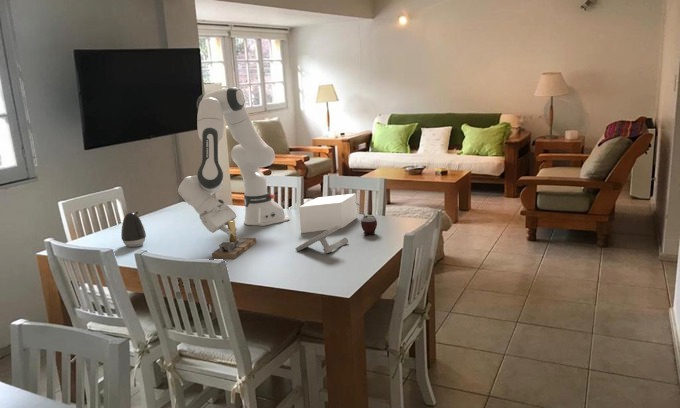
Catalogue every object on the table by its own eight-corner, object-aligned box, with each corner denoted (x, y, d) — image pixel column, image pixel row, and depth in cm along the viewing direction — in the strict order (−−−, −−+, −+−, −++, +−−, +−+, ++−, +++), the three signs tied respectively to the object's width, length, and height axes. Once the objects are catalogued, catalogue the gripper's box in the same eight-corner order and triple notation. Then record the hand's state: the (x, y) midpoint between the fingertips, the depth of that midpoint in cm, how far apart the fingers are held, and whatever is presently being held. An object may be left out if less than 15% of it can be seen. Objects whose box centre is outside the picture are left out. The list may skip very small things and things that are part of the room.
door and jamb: (234, 242, 250) (233, 231, 249) (255, 242, 247) (255, 231, 246) (212, 258, 229) (210, 246, 228) (235, 258, 226) (233, 246, 225)
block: (369, 220, 275) (368, 195, 272) (313, 236, 253) (311, 209, 250) (345, 215, 288) (344, 191, 285) (289, 230, 266) (287, 204, 263)
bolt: (233, 242, 240) (230, 219, 238) (239, 242, 239) (237, 219, 237) (222, 249, 230) (220, 225, 228) (229, 249, 230) (227, 225, 227)
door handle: (304, 265, 232) (337, 247, 220) (295, 248, 233) (327, 229, 220) (329, 252, 246) (361, 235, 234) (320, 236, 246) (352, 218, 234)
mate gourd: (380, 233, 251) (379, 200, 248) (369, 237, 245) (367, 204, 242) (367, 231, 256) (366, 198, 253) (356, 235, 250) (354, 202, 247)
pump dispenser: (151, 242, 257) (147, 209, 254) (139, 249, 247) (134, 215, 244) (131, 241, 259) (126, 209, 256) (118, 248, 249) (113, 215, 246)
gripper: (202, 209, 225) (227, 234, 224) (224, 198, 244) (247, 221, 244) (193, 220, 227) (217, 244, 226) (215, 208, 246) (238, 230, 246)
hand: (233, 232), depth 235 cm, fingers closed on bolt, 3 cm apart
